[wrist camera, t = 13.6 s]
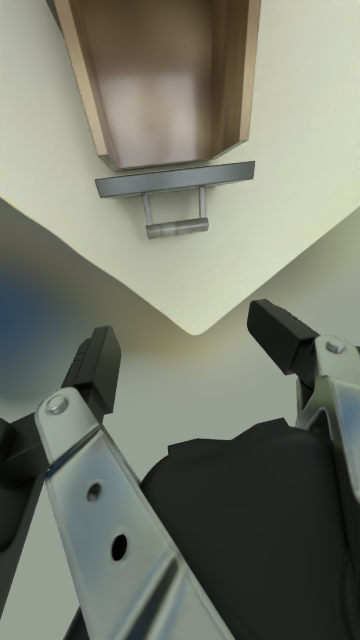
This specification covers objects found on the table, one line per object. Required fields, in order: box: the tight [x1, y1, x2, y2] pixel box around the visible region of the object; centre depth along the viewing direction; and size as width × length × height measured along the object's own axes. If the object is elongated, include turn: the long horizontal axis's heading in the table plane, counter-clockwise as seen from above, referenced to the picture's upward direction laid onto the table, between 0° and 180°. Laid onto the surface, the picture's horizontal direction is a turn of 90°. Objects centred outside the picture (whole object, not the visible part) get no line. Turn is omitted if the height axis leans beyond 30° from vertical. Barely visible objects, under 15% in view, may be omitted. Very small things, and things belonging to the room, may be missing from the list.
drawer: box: [54, 0, 261, 239], centre depth 15 cm, size 19×13×8 cm
